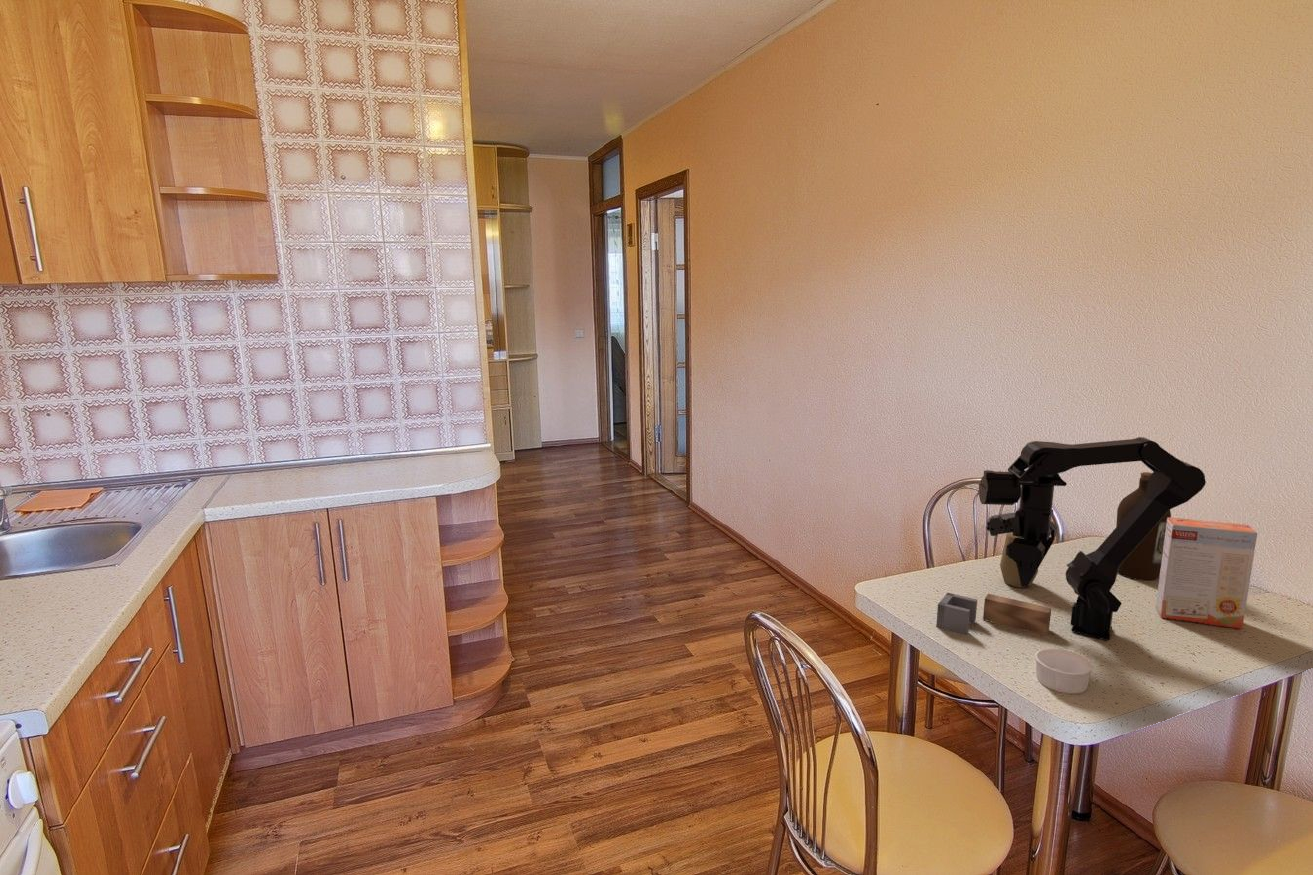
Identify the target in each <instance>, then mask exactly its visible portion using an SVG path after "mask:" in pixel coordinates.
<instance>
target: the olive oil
mask: <svg viewBox="0 0 1313 875" xmlns="http://www.w3.org/2000/svg"><path fill="white" fill-rule="evenodd" d="M1152 473H1153V472H1147V471H1142V472H1140V478H1139V480H1138V481H1139V483H1138V488H1136V489H1135V490H1134V491H1132V492H1130V493H1129V494H1127V495H1126V496H1124V497H1123V498H1122V499H1121V501H1120V503H1119V504H1118V506H1117V510H1116V525H1115V526H1116V527H1117V526H1118V525H1119V524H1120V523H1121V521H1122V520H1123V519H1124V518H1125V517H1126V516H1127V515H1128V513H1129V512H1130V511H1131V510H1132V509H1133V508H1134V507H1135V505H1136V504H1137V503H1138V502H1139V501H1140V500H1141V499H1142V497H1143V496H1144V495H1145V493H1146V489H1147V485H1148V480H1149V478H1150V476H1151V475H1152ZM1168 517H1169V518H1172V512H1171V509H1170V510H1169V511H1168V512H1167V513H1166V514H1165V516H1164V517H1163V518H1162V519H1161V520H1160V521H1159V522H1158V523H1157V524H1156V526H1155V527H1154V528H1153V529H1152V530H1151V531H1150V532H1149V533H1148V535H1147V536H1146V537H1145V538H1144V539H1143V540H1142V541H1141V542H1140V544H1139V545H1138V546H1137V547H1136V548H1135V549H1134V550H1133V551H1132V553H1131V554H1130V555H1129V556H1128V557H1127V558H1126V559H1125V560H1124V561H1123V563H1122V564H1121V565H1120V566H1119V569H1118V573H1119V574H1118V573H1117V574H1118V575H1120V574H1121V575H1120V576H1123V575H1124V576H1123V577H1126V576H1127V577H1126V578H1129V577H1131V578H1130V579H1133V578H1136V579H1135V580H1139V579H1143V580H1142V581H1153V580H1152V579H1155V580H1157V579H1159V578H1160V571H1161V563H1162V555H1163V547H1164V539H1165V532H1166V524H1167V518H1168ZM1116 527H1115V528H1116ZM1158 577H1159V578H1158ZM1156 578H1157V579H1156Z"/></svg>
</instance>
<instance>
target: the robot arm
mask: <svg viewBox="0 0 1313 875" xmlns="http://www.w3.org/2000/svg"><path fill="white" fill-rule="evenodd" d="M1131 462H1133V463H1134V462H1142V463H1143V465H1144V466H1146V467H1147V468H1148V469H1150V470H1151V471H1152V472H1151V473H1152V475H1151V476H1150V478H1149V480H1148V485H1147V489H1146V493H1145V495H1144V496H1143V497H1142V499H1141V500H1140V501H1139V502H1138V503H1137V504H1136V505H1135V507H1134V508H1133V509H1132V510H1131V511H1130V512H1129V513H1128V515H1127V516H1126V517H1125V518H1124V519H1123V520H1122V521H1121V523H1120V524H1119V525H1118V526H1117V527H1115V528H1114V529H1113V530H1112V532H1111V533H1110V534H1109V535H1108V536H1107V538H1105V539H1104V541H1102V543H1101V544H1100V545H1099V546H1098V548H1097V549H1095V550H1094V551H1092V552H1090V553H1087V554H1085V553H1084V552H1083V551H1082V550H1079V552H1077V554H1076V555H1075V557H1074V558H1073V560H1072V561H1070V562H1069V563H1067V564H1066V567H1068V568H1067V569H1066V570H1065V573H1064V574H1065V580H1066V582H1067V584H1068V585H1069V586H1070V587H1071V588H1072V589H1073V592H1074V594H1076V595H1077V599H1076V602H1074V603H1073V604H1072V608H1071V616H1070V623H1069V624H1070V625H1071V626H1072V627H1071V632H1073V633H1076V634H1080V635H1085V636H1089V637H1093V638H1097V639H1101V640H1104V641H1105V640H1106V641H1109V640H1110V638H1111V634H1112V632H1113V625H1112V624H1113V623H1112V622H1113V617H1114V616H1113V614H1114V613H1117V612H1118V610H1119V609H1120V607H1121V606H1122V602H1121V600H1120V599H1118V598H1117V597H1116V596H1115V595H1114V594H1113V593H1112V592H1111V590H1112V588H1113V586H1114V584H1116V580H1117V577H1118V569H1119V566H1120V565H1121V564H1122V563H1123V561H1124V560H1125V559H1126V558H1127V557H1128V556H1129V555H1130V554H1131V553H1132V551H1133V550H1134V549H1135V548H1136V547H1137V546H1138V545H1139V544H1140V542H1141V541H1142V540H1143V539H1144V538H1145V537H1146V536H1147V535H1148V533H1149V532H1150V531H1151V530H1152V529H1153V528H1154V527H1155V526H1156V524H1157V523H1158V522H1159V521H1160V520H1161V519H1162V518H1163V517H1164V516H1165V514H1166V513H1167V512H1168V511H1169V510H1170V511H1171V510H1172V509H1174V508H1176V507H1179V506H1181V505H1183V504H1185V503H1188V502H1189V501H1190V500H1191V499H1193V498H1194V497H1195V496H1196V495H1198V494H1199V493H1200V492H1201V491H1202V490H1203V489H1204V488H1205V486H1206V484H1207V481H1206V476H1205V473H1204V471H1203V470H1202V469H1200V468H1199V467H1197V466H1194V465H1192V464H1190V463H1188V462H1186V461H1183V460H1181V459H1179V458H1177V457H1176V456H1174V455H1172V454H1171V453H1170V452H1168V451H1167V450H1165V449H1164V448H1163V447H1162V446H1161V445H1159V443H1157V442H1156V441H1154V440H1152V439H1149V438H1146V437H1143V436H1142V437H1141V436H1140V437H1136V438H1131V439H1130V438H1129V439H1117V440H1107V441H1097V442H1086V443H1075V444H1074V443H1073V444H1068V443H1060V442H1054V441H1041V440H1040V441H1039V440H1034V441H1030V442H1028V443H1026V444H1025V446H1024V447H1022V449H1021V451H1020V455H1019V457H1017V458H1016V460H1015V461H1014V462H1012V464H1011V465H1009V467H1008V468H1007V471H994V470H989V469H985V470H983V475H982V476H981V479H980V483H978V497H979V500H980V504H981V505H993V506H997V505H998V506H1013V505H1015V503H1016V504H1018V502H1019V506H1018V509H1017V510H1015V511H1014V512H1009V513H1007V512H1006V513H1003V514H994V515H992V516H989V517H988V518H987V520H986V530H987V531H989V534H990V536H991V537H996V536H998V535H1003V534H1007V533H1011V532H1013V536H1018V537H1019V536H1021V538H1014V539H1012V540H1011V541H1010V542H1009V543H1008V545H1007V546H1006V555H1007V556H1008V557H1009V558H1011V559H1013V560H1014V561H1015V562H1016V564H1017V568H1018V573H1019V578H1020V583H1021V586H1023V587H1022V588H1028V587H1027V586H1028V585H1029V583H1030V581H1031V579H1032V578H1033V576H1034V574H1035V573H1036V571H1037V569H1038V570H1039V568H1040V566H1041V564H1042V563H1043V560H1044V558H1045V557H1046V555H1047V554H1048V552H1049V551H1050V548H1052V545H1053V544H1054V542H1055V540H1056V539H1055V538H1056V537H1057V536H1058V535H1057V533H1058V526H1057V525H1056V524H1055V523H1054V522H1053V521H1051V520H1052V517H1053V515H1054V509H1053V500H1054V493H1055V487H1065V486H1067V485H1068V483H1067V482H1066V481H1065V480H1063V478H1061V476H1060V474H1062V473H1065V472H1067V471H1070V470H1071V469H1074V468H1078V467H1085V466H1097V465H1108V464H1109V465H1110V464H1120V463H1131Z"/></svg>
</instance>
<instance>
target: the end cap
mask: <svg viewBox="0 0 1313 875" xmlns="http://www.w3.org/2000/svg"><path fill="white" fill-rule="evenodd" d="M977 607H978V599H977V598H972V597H968V596H964V595H960V594H955V593H951V592H946V593H945V595H944V596H943V597H942V599H940V601H939V602H938V603H937V612H936V626H935V627H936V628H940V629H944V630H947V629H948V630H947V631H951V630H952V632H954V633H958V632H959V633H958V634H963V635H968V634H969V630H970V628H969V627H970V624H973V623H974V624H975V623H976V622H975V621H976V620H977Z"/></svg>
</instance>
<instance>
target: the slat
mask: <svg viewBox="0 0 1313 875" xmlns="http://www.w3.org/2000/svg"><path fill="white" fill-rule="evenodd" d="M983 605H984V606H983V615H982V620H983V619H984V620H983V621H986V620H988V621H987V622H990V621H992V622H991V623H994V622H995V623H994V624H999V625H1003V626H1007V627H1012V628H1015V629H1019V630H1023V631H1027V632H1030V633H1035V634H1039V635H1043V636H1048V633H1049V631H1050V625H1051V616H1052V607H1049V606H1044V605H1041V604H1036V603H1031V602H1027V601H1022V600H1018V599H1013V598H1010V597H1005V596H999V595H996V594H991V593H987V594H986V596H985V598H984V604H983Z"/></svg>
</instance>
